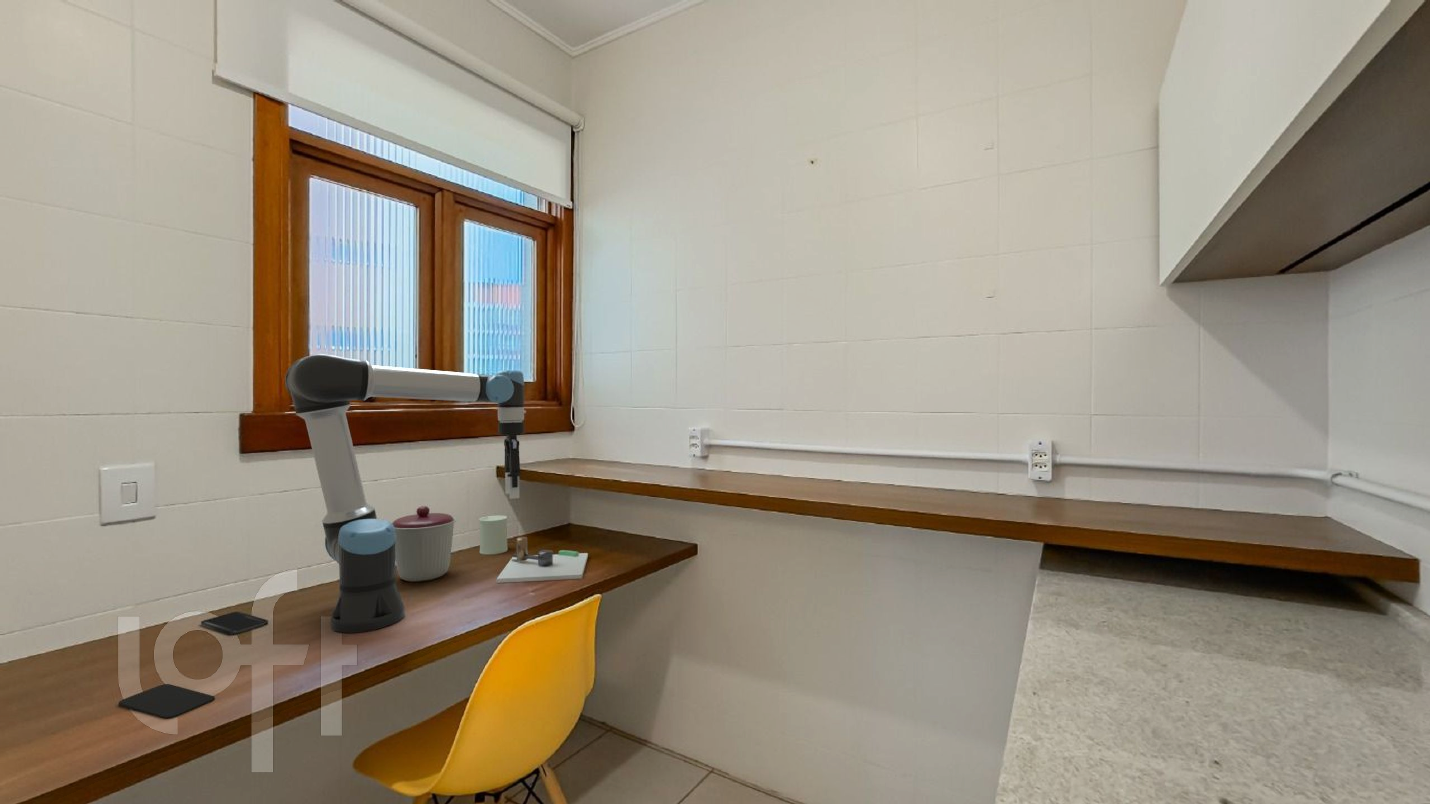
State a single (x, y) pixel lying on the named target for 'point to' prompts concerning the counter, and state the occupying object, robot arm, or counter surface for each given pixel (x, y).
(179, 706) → the phone
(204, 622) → the phone
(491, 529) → the can
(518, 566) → the dial plate
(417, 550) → the canister
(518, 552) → the lever
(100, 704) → the counter surface
